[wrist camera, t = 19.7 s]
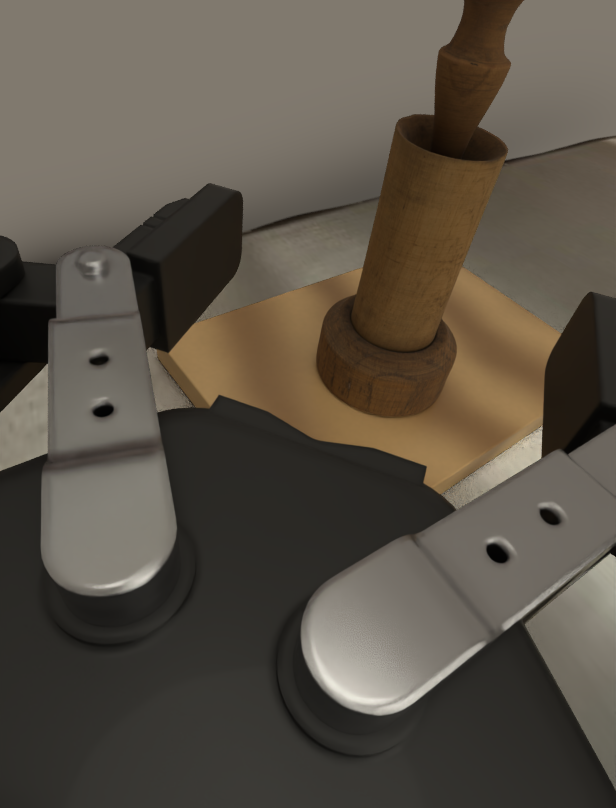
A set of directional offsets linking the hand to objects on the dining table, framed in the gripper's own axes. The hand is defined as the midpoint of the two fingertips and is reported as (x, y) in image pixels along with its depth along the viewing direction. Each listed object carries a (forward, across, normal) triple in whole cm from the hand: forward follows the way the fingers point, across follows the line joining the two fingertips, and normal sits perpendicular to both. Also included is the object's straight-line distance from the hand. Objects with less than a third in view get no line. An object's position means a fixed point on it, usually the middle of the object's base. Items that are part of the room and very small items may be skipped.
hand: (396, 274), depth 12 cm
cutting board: (+11, 0, +12) cm, 16 cm away
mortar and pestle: (+9, 0, +11) cm, 14 cm away
